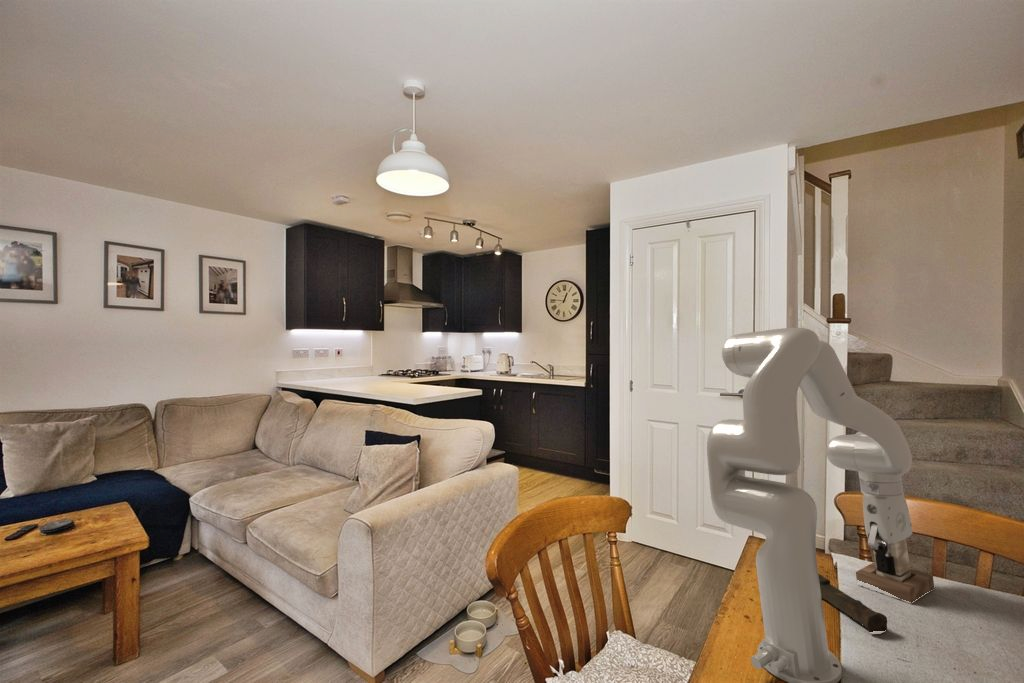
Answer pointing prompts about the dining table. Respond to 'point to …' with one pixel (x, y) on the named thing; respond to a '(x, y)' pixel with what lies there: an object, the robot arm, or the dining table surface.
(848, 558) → the dining table surface
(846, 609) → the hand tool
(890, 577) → the peg
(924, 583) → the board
